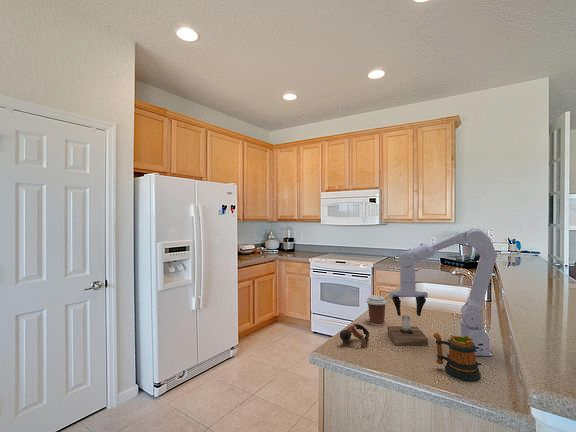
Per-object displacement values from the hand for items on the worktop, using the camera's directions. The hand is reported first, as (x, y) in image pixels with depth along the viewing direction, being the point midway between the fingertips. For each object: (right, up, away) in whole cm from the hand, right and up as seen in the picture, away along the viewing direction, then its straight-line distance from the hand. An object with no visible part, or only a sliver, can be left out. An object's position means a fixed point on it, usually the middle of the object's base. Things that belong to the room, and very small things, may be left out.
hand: (408, 315), depth 118 cm
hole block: (-1, -9, -1) cm, 9 cm away
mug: (+4, -9, -26) cm, 28 cm away
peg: (-1, -9, 0) cm, 9 cm away
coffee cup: (-7, -10, +18) cm, 22 cm away
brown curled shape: (-23, -10, -4) cm, 25 cm away
